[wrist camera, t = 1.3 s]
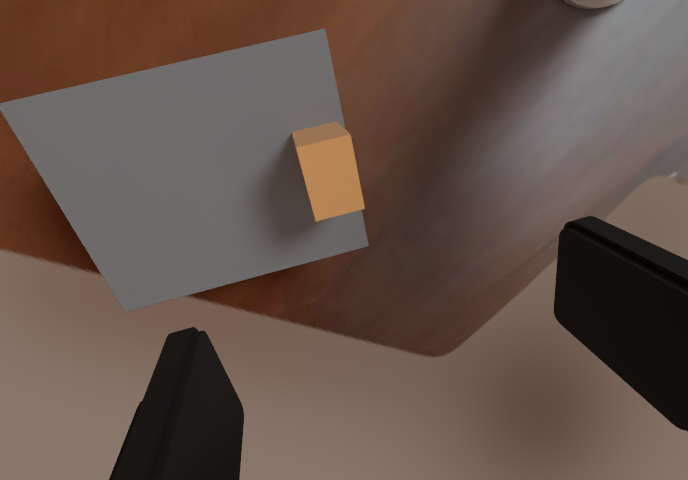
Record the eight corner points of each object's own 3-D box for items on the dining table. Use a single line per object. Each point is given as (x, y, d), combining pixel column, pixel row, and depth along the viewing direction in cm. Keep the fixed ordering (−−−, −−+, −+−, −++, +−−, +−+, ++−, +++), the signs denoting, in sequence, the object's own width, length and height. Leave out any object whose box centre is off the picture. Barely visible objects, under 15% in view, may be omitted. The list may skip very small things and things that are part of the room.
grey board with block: (320, 31, 24) (338, 19, 17) (362, 234, 30) (386, 279, 24) (21, 100, 22) (-80, 115, 16) (134, 295, 29) (95, 360, 23)
